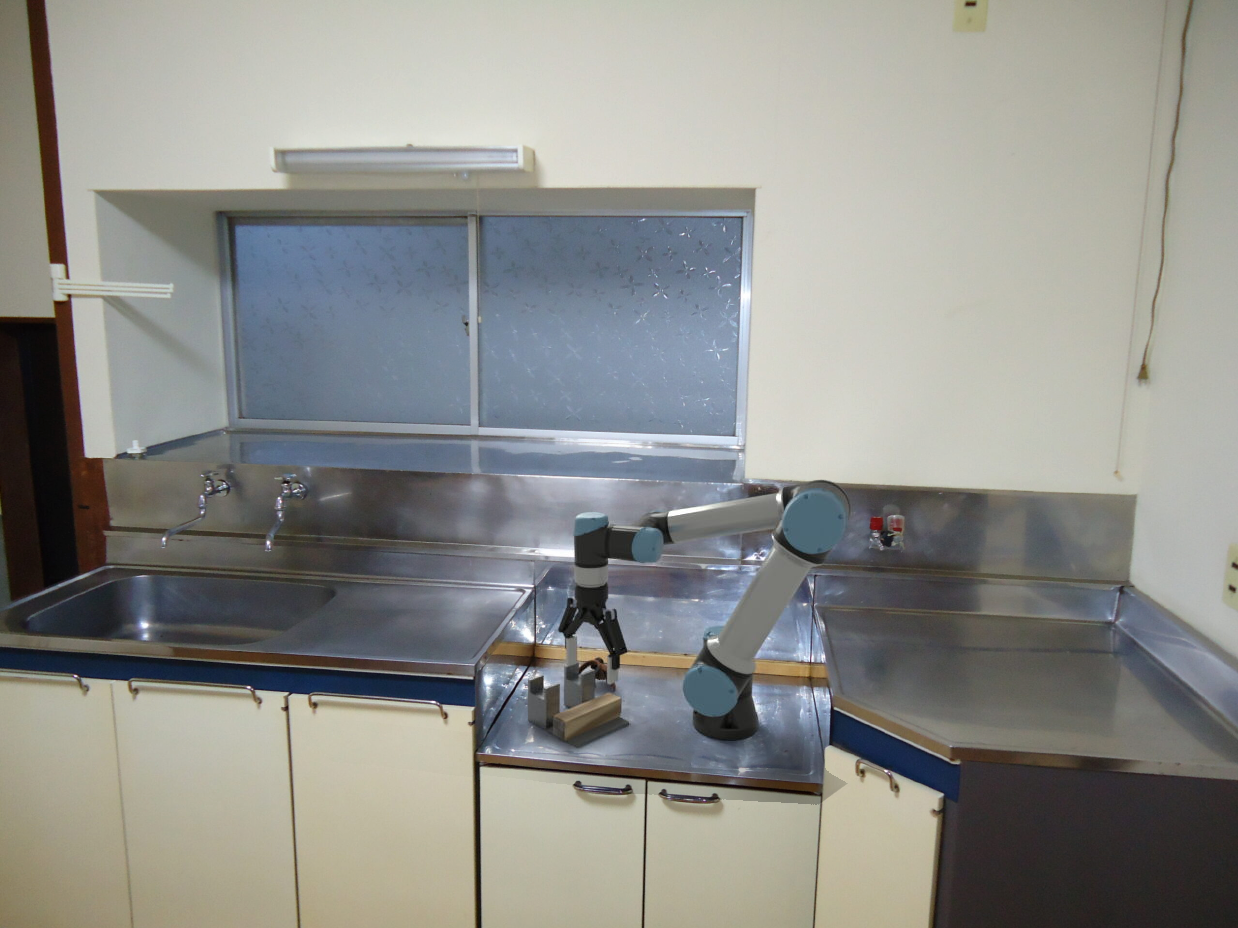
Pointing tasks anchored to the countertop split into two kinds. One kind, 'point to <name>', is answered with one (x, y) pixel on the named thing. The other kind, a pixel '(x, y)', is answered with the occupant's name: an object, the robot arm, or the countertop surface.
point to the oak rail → (586, 716)
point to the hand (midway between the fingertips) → (591, 673)
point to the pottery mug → (597, 670)
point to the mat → (596, 732)
